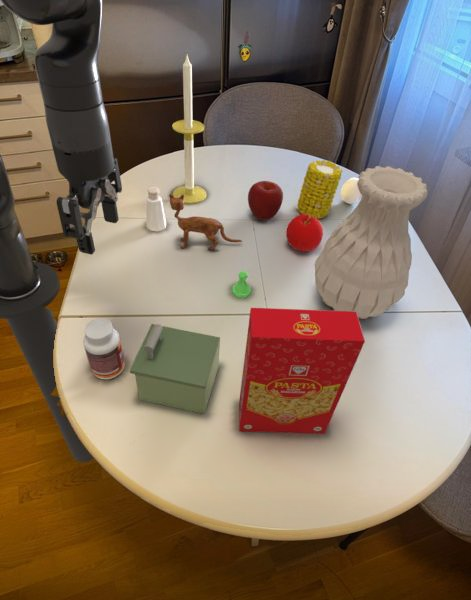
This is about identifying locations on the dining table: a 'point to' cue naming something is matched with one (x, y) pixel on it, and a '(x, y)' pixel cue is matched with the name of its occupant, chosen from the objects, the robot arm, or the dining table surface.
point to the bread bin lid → (176, 356)
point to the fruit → (304, 232)
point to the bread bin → (177, 391)
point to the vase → (371, 245)
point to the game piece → (242, 286)
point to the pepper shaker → (155, 211)
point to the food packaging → (296, 368)
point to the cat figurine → (197, 224)
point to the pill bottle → (103, 349)
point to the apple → (265, 199)
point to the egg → (350, 191)
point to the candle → (188, 141)
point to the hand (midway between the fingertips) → (100, 236)
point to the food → (319, 188)
